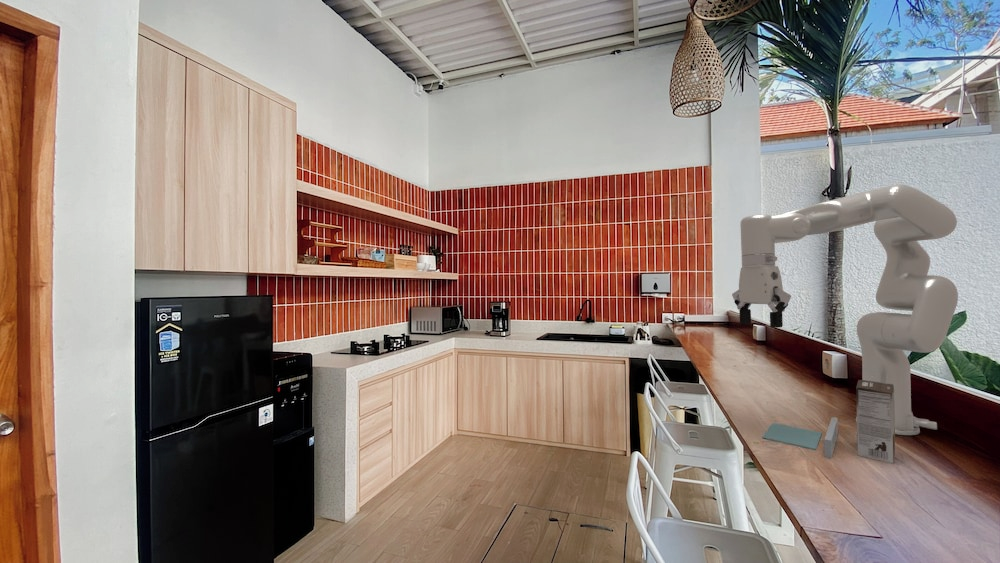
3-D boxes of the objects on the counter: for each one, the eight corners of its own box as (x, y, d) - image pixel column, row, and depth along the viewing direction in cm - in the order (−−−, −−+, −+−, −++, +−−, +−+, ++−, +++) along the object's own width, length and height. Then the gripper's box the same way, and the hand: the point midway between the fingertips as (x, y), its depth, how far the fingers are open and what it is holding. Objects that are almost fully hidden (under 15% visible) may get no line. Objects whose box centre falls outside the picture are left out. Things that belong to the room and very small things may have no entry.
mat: (821, 433, 105) (821, 432, 105) (815, 450, 95) (815, 448, 95) (772, 423, 113) (772, 422, 113) (762, 438, 103) (762, 437, 103)
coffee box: (859, 443, 99) (857, 379, 99) (895, 451, 94) (894, 383, 94) (856, 455, 92) (854, 386, 92) (895, 464, 88) (893, 391, 88)
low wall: (838, 433, 106) (837, 418, 106) (831, 458, 91) (831, 440, 91) (832, 432, 106) (831, 417, 106) (824, 456, 92) (824, 439, 92)
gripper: (800, 259, 98) (802, 328, 98) (743, 263, 115) (745, 321, 115) (775, 260, 97) (777, 329, 97) (721, 263, 114) (723, 323, 114)
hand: (760, 325), depth 106 cm, fingers open, 9 cm apart
